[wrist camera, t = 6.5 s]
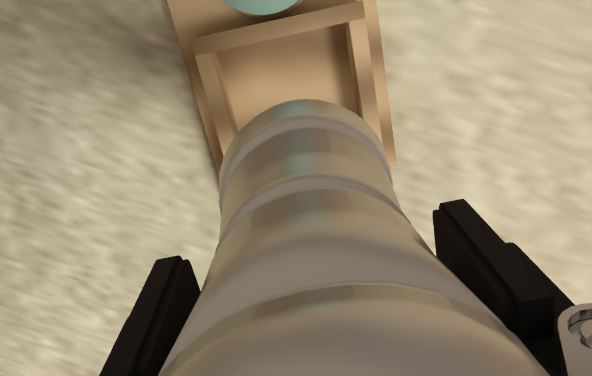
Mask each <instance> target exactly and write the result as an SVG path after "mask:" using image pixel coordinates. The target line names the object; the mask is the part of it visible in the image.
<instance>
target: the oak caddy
mask: <svg viewBox="0 0 592 376" xmlns="http://www.w3.org/2000/svg"><path fill="white" fill-rule="evenodd" d="M167 3H168V6H169V9H170V13H171V16H172V19H173V23H174V26H175V30H176V33H177V36H178V40H179V43H180V47H181V50H182V53H183V57H184V60H185V63H186V67H187V70H188V74H189V77H190V80H191V84H192V87H193V90H194V94H195V97H196V101H197V104H198V107H199V111H200V114H201V118H202V121H203V124H204V128H205V131H206V134H207V138H208V141H209V145H210V148H211V151H212V155H213V158H214V162H215V165H216V168H217V172H218V175H219V173H220V169H221V165H222V161H223V157H224V155H225V153H226V151H227V149H228V147H229V145H230V143H231V142H232V140H233V139H234V138H235V136H236V135H237V134H238V132H239V131H240V130H241V129H242V128H243V127H244V126H245V125H246V124H247V123H249V122H250V121H251V120H252V119H253V118H254V117H256V116H257V115H259V114H260V113H262V112H264V111H265V110H267V109H269V108H270V107H272V106H275V105H277V104H280V103H283V102H286V101H291V100H298V99H317V100H322V101H326V102H330V103H333V104H337V105H340V106H342V107H344V108H346V109H348V110H350V111H352V112H354V113H356V114H357V115H358V116H359V117H361V118H362V119H363V120H364V121H366V122H367V123H368V124H369V125H370V127H371V128H372V129H373V130H374V132H375V133H376V134H377V135H378V137H379V139H380V141H381V143H382V145H383V147H384V149H385V152H386V156H387V159H388V163H389V167H394V166H397V163H396V155H395V147H394V139H393V131H392V123H391V115H390V107H389V99H388V91H387V83H386V76H385V68H384V60H383V52H382V44H381V36H380V28H379V20H378V12H377V4H376V0H298V1H297V2H296V3H294V4H293V5H291V6H290V7H288V8H287V9H284V10H282V11H280V12H277V13H274V14H268V15H254V14H248V13H245V12H242V11H239V10H237V9H235V8H233V7H231V6H230V5H228V4H227V3H226V2H224V1H223V0H167Z"/></svg>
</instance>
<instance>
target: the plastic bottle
mask: <svg viewBox="0 0 592 376" xmlns="http://www.w3.org/2000/svg"><path fill="white" fill-rule="evenodd" d="M219 206H220V212H221V226H220V236H219V243H218V246H217V249H216V252H215V256H214V258H213V260H212V263H211V265H210V268H209V271H208V274H207V277H206V279H205V282H204V285H203V288H202V291H201V293H200V296H199V298H198V300H197V302H196V304H195V306H194V308H193V310H192V312H191V314H190V316H189V317H188V319H187V321H186V323H185V325H184V327H183V329H182V331H181V333H180V335H179V336H178V338H177V340H176V342H175V344H174V346H173V348H172V350H171V352H170V354H169V355H168V357H167V359H166V361H165V363H164V365H163V367H162V369H161V371H160V373H159V374H158V376H550V375H549V374H548V373H547V372H546V371H545V369H544V368H543V367H542V366H541V365H540V364H539V362H538V361H537V360H536V359H535V358H534V356H533V355H532V354H531V353H530V351H529V350H528V349H527V348H526V347H525V345H524V344H523V343H522V342H521V341H520V339H519V338H518V337H517V336H516V335H515V334H514V333H513V332H511V331H510V330H508V329H507V328H506V326H505V325H504V324H503V323H502V322H501V321H500V320H499V319H498V318H497V317H496V316H495V315H494V314H493V313H492V312H491V311H490V310H489V309H488V308H487V307H486V306H485V305H484V304H483V303H482V302H481V301H480V300H479V299H478V298H477V297H476V296H475V295H474V294H473V293H472V292H471V291H470V290H469V289H468V288H467V287H466V286H465V285H464V284H463V283H462V282H461V281H460V280H459V279H458V278H457V277H456V276H455V275H454V274H453V273H452V272H451V271H450V270H449V269H448V268H447V267H446V266H445V265H444V264H443V263H442V262H441V261H440V260H439V259H438V258H437V257H436V256H435V255H434V254H433V252H432V251H431V250H430V248H429V247H428V246H427V244H426V243H425V242H424V240H423V239H422V238H421V236H420V235H419V233H418V232H417V231H416V230H415V229H414V227H413V226H412V225H411V223H410V221H409V220H408V219H407V217H406V216H405V215H404V213H403V212H402V210H401V207H400V205H399V202H398V199H397V197H396V194H395V192H394V189H393V183H392V175H391V171H390V167H389V163H388V159H387V156H386V152H385V149H384V147H383V145H382V143H381V141H380V139H379V137H378V135H377V134H376V133H375V132H374V130H373V129H372V128H371V127H370V125H369V124H368V123H367V122H366V121H364V120H363V119H362V118H361V117H359V116H358V115H357V114H356V113H354V112H352V111H350V110H348V109H346V108H344V107H342V106H340V105H337V104H333V103H330V102H326V101H322V100H317V99H298V100H291V101H286V102H283V103H280V104H277V105H275V106H272V107H270V108H269V109H267V110H265V111H264V112H262V113H260V114H259V115H257V116H256V117H254V118H253V119H252V120H251V121H250V122H249V123H247V124H246V125H245V126H244V127H243V128H242V129H241V130H240V131H239V132H238V134H237V135H236V136H235V138H234V139H233V140H232V142H231V143H230V145H229V147H228V149H227V151H226V153H225V155H224V157H223V161H222V165H221V169H220V173H219Z"/></svg>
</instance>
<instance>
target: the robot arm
mask: <svg viewBox="0 0 592 376" xmlns="http://www.w3.org/2000/svg"><path fill="white" fill-rule="evenodd" d="M433 225H434V235H435V246H436V256H437V258H438V259H439V260H440V261H441V262H442V263H443V264H444V265H445V266H446V267H447V268H448V269H449V270H450V271H451V272H452V273H453V274H454V275H455V276H456V277H457V278H458V279H459V280H460V281H461V282H462V283H463V284H464V285H465V286H466V287H467V288H468V289H469V290H470V291H471V292H472V293H473V294H474V295H475V296H476V297H477V298H478V299H479V300H480V301H481V302H482V303H483V304H484V305H485V306H486V307H487V308H488V309H489V310H490V311H491V312H492V313H493V314H494V315H495V316H496V317H497V318H498V319H499V320H500V321H501V322H502V323H503V324H504V325H505V326H506V328H507V329H508V330H510V331H511V332H513V333H514V334H515V335H516V336H517V337H518V338H519V339H520V341H521V342H522V343H523V344H524V345H525V347H526V348H527V349H528V350H529V351H530V353H531V354H532V355H533V356H534V358H535V359H536V360H537V361H538V362H539V364H540V365H541V366H542V367H543V368H544V369H545V371H546V372H547V373H548V374H549V375H550V376H592V303H588V304H579V305H574V303H573V302H572V301H571V300H570V299H569V298H568V297H567V296H566V295H565V294H564V293H563V292H562V291H561V290H560V289H559V288H558V287H557V286H556V285H555V284H554V283H553V282H552V281H551V280H550V279H549V278H548V277H547V276H546V275H545V274H544V273H543V272H542V271H541V270H540V269H539V268H538V266H537V265H536V264H535V263H534V262H533V261H532V260H531V259H530V258H529V257H528V256H527V255H526V254H525V253H524V252H523V251H522V250H521V249H520V248H519V247H518V246H517V245H516V244H514V243H511V242H509V243H505V242H504V241H503V240H502V239H501V238H500V237H499V236H498V235H497V234H496V233H495V232H494V231H493V229H492V228H491V227H490V226H489V225H488V224H487V223H486V222H485V221H484V220H483V219H482V218H481V217H480V216H479V214H478V213H477V212H476V211H475V210H474V209H473V208H472V207H471V206H470V205H469V204H468V203H467V202H466V201H465V200H464V199H459V200H454V201H449V202H444V203H440V205H439V209H438V210H434V211H433ZM200 293H201V291H200V289H199V286H198V283H197V280H196V277H195V274H194V272H193V269H192V266H191V263H190V261H189V260H188V259H186V260H183V259H182V258H181V257H180V256H179V255H178V256H173V257H168V258H163V259H158V260H156V262H155V264H154V266H153V268H152V270H151V272H150V274H149V276H148V278H147V280H146V282H145V285H144V287H143V289H142V291H141V293H140V295H139V297H138V299H137V301H136V303H135V305H134V307H133V310H132V312H131V314H130V316H129V317H128V319H127V320H126V321H125V323H124V326H123V328H122V330H121V332H120V334H119V336H118V338H117V340H116V342H115V344H114V346H113V348H112V350H111V352H110V354H109V357H108V359H107V361H106V363H105V365H104V367H103V369H102V371H101V373H100V375H99V376H158V374H159V373H160V371H161V369H162V367H163V365H164V363H165V361H166V359H167V357H168V355H169V354H170V352H171V350H172V348H173V346H174V344H175V342H176V340H177V338H178V336H179V335H180V333H181V331H182V329H183V327H184V325H185V323H186V321H187V319H188V317H189V316H190V314H191V312H192V310H193V308H194V306H195V304H196V302H197V300H198V298H199V296H200Z"/></svg>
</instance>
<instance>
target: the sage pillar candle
mask: <svg viewBox="0 0 592 376" xmlns="http://www.w3.org/2000/svg"><path fill="white" fill-rule="evenodd" d="M223 1H224V2H226V3H227V4H228V5H230V6H231V7H233V8H235V9H237V10H239V11H242V12H245V13H248V14H254V15H268V14H274V13H277V12H280V11H282V10H284V9H287V8H288V7H290V6H291V5H293V4H294V3H296V2H297V1H298V0H223Z"/></svg>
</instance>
